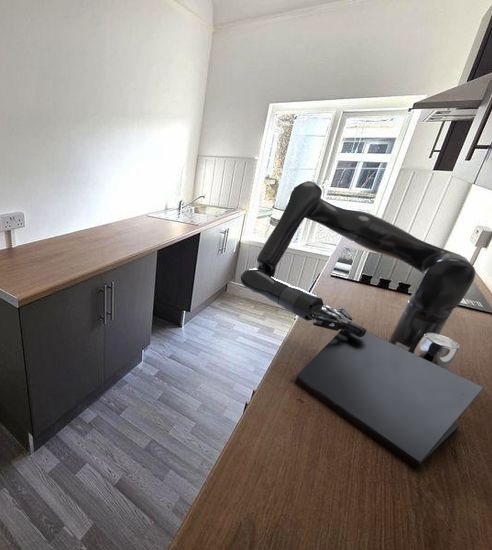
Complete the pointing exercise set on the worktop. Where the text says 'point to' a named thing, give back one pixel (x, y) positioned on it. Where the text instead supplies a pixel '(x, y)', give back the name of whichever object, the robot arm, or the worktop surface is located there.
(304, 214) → the robot arm
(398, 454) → the laptop
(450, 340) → the beer glass
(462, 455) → the worktop surface
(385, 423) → the laptop screen
